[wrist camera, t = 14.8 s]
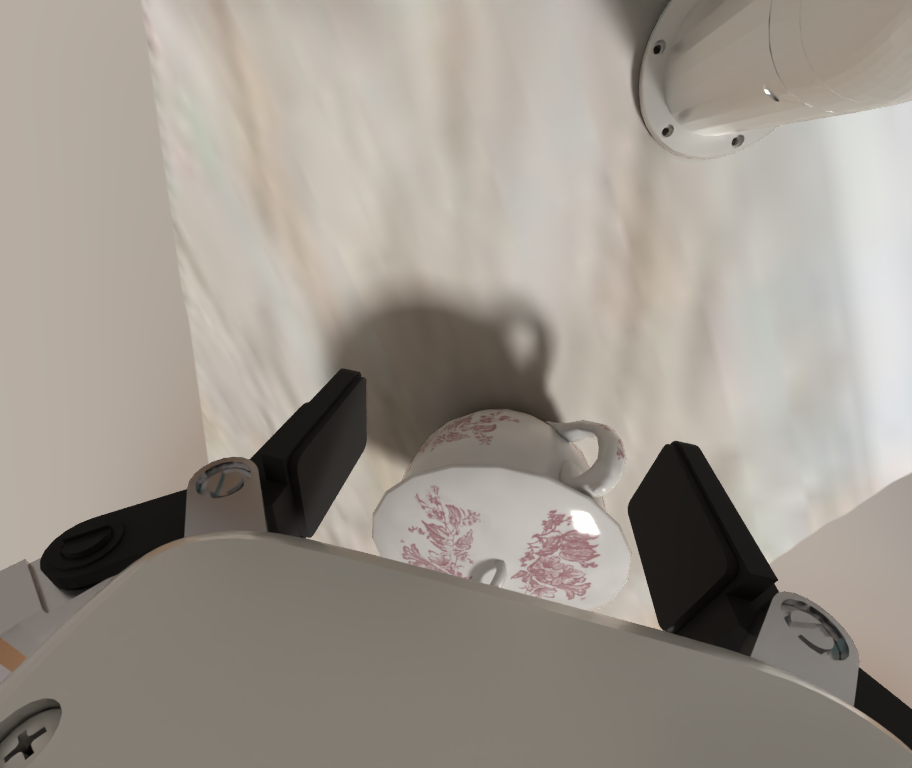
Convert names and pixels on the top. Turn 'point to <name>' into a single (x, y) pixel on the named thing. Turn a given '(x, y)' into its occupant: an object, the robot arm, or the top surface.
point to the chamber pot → (511, 508)
